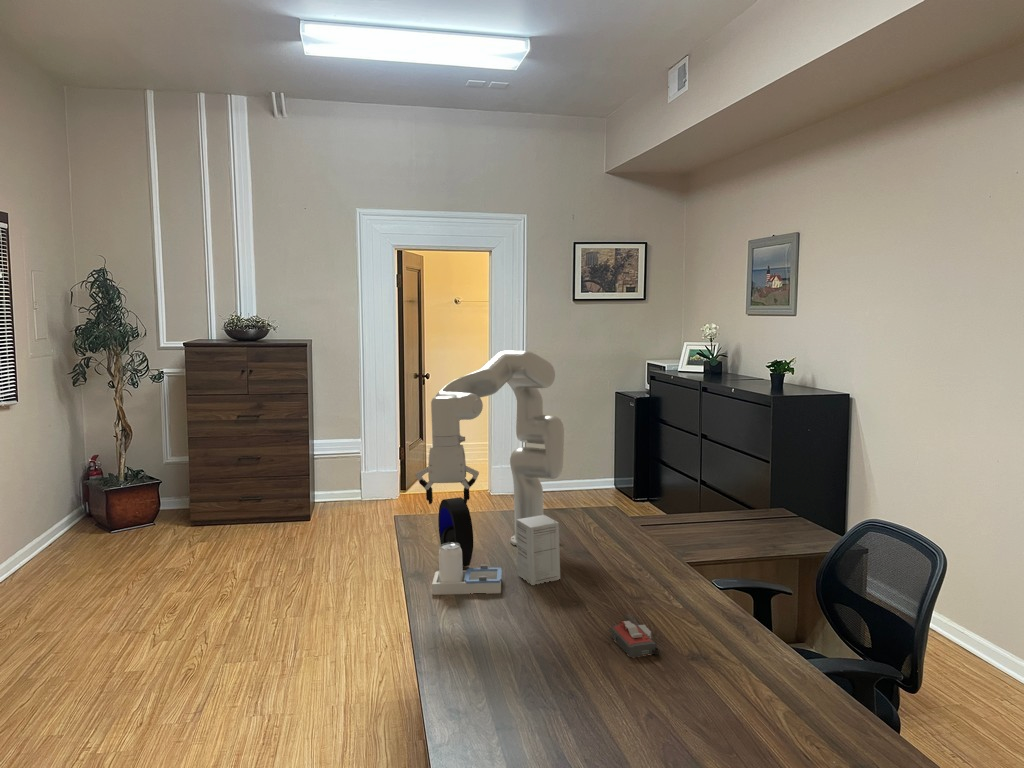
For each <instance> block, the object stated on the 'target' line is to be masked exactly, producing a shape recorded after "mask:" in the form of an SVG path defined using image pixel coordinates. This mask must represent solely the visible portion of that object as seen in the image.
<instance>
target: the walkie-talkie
mask: <svg viewBox="0 0 1024 768" xmlns="http://www.w3.org/2000/svg"><path fill="white" fill-rule="evenodd" d="M625 618H626V619H627V620H625V621H621V622H620V624H614V625H612V626H611V627H610V638H611V637H612V638H613V639H614V640H615V641H616V642H615V641H614V640H613V639H612V638H611V639H612V640H613V641H614V642H615V644H616V645H617V644H618V645H617V646H618V647H619V648H620V647H621V648H622V649H623V650H624V651H625V652H626V653H627V654H628V655H629V656H628V655H627V654H626V653H625V652H624V651H623V650H622V649H621V648H620V649H621V650H622V651H623V652H624V653H625V654H626V655H627V656H628V658H630V657H638V656H643V655H648V654H655V655H659V654H660V649H659V647H657V646H656V644H657V643H656V642H655V641H654V640H653V639H652V631H651V630H650V629H649V628H648V627H647V625H646V624H640V623H638V621H636V619H634V618H633V616H631V615H630V614H629V613H627V614H625ZM638 658H639V657H638Z"/></svg>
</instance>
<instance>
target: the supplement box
mask: <svg viewBox="0 0 1024 768" xmlns="http://www.w3.org/2000/svg"><path fill="white" fill-rule="evenodd" d="M516 524H517V546H516V551H517V554H516V555H517V570H518V571H517V576H519V577H520V578H521V579H522V578H523V579H522V580H524V581H525V580H526V581H527V583H528V584H529V583H530V584H531V585H530V584H529V585H530V586H532V585H533V586H536V585H535V584H537V585H540V583H541V584H545V583H544V582H546V583H550V582H549V581H551V582H555V581H559V579H560V580H561V559H560V558H561V556H560V555H561V551H560V525H559V524H560V522H558V521H557V520H555V519H553V518H551V517H549V516H547V515H546V514H543V515H540V516H534V517H528V518H522V519H517V520H516ZM526 581H525V582H526Z"/></svg>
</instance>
